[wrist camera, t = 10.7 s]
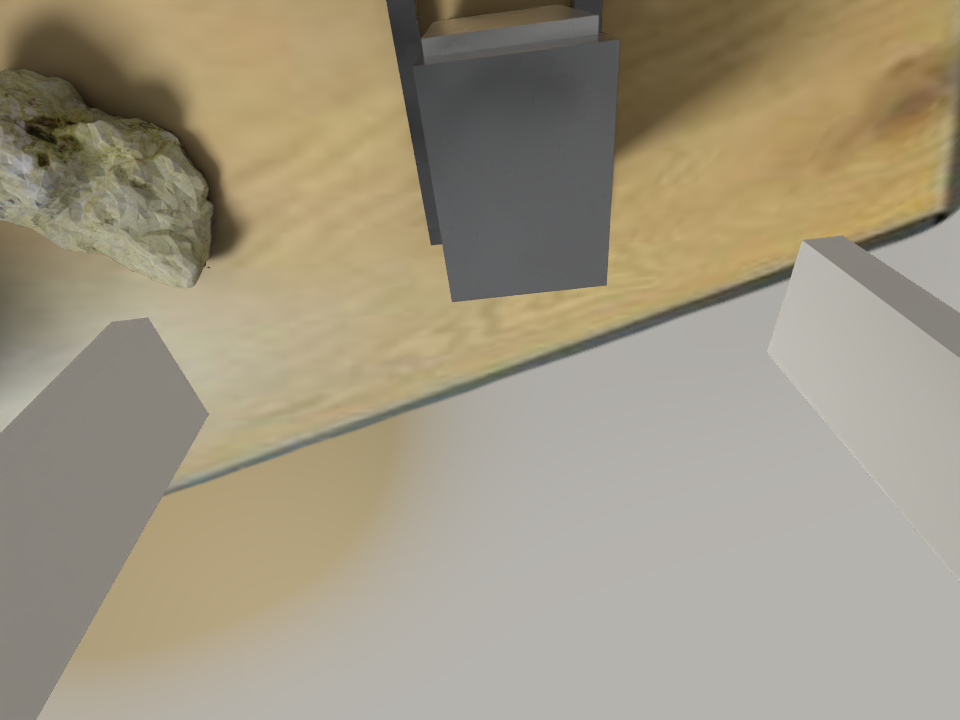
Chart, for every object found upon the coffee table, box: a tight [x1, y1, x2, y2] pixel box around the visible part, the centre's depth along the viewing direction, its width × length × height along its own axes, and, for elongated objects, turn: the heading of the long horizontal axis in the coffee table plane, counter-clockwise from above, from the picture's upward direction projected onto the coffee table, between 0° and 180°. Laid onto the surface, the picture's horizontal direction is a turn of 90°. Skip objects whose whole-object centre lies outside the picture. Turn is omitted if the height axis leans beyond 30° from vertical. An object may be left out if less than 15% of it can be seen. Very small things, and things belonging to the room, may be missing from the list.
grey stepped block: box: [413, 4, 620, 302], centre depth 21 cm, size 6×8×11 cm
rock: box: [0, 69, 214, 288], centre depth 25 cm, size 11×6×10 cm
